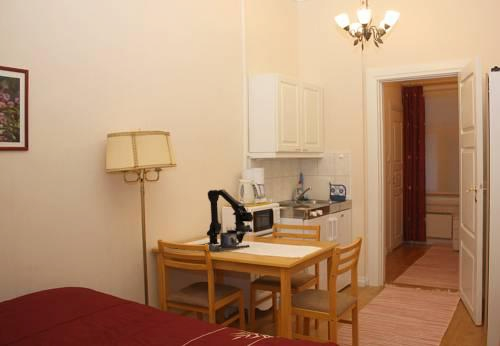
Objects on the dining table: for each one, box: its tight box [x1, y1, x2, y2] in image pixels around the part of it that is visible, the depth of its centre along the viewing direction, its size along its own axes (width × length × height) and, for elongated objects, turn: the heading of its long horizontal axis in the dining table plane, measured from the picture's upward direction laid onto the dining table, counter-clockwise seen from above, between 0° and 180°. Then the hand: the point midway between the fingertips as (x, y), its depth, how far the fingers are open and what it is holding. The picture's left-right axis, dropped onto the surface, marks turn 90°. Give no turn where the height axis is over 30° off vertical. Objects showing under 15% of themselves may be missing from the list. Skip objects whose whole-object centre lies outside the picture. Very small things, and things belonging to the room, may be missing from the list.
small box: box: [219, 232, 238, 249], centre depth 329 cm, size 11×6×10 cm, turn 108°
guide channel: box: [207, 241, 250, 253], centre depth 330 cm, size 15×27×3 cm, turn 124°
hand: (240, 243), depth 335 cm, fingers closed, pressing on small box
